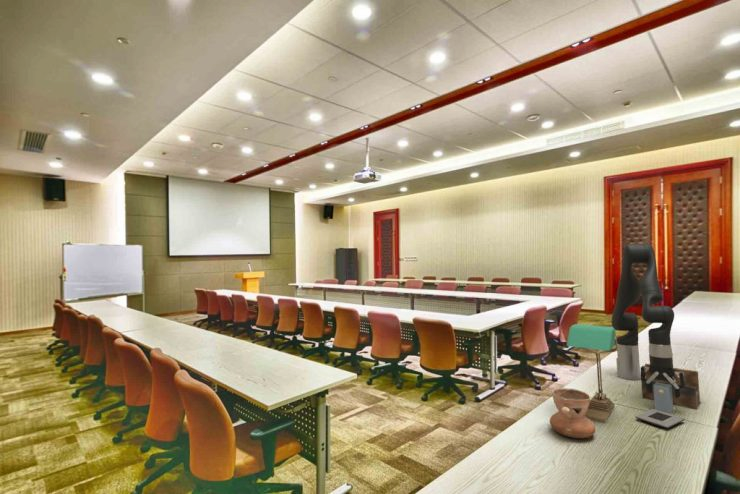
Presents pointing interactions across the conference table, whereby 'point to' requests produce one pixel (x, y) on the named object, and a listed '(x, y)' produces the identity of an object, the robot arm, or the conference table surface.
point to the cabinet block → (663, 397)
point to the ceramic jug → (571, 413)
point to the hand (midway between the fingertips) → (663, 394)
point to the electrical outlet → (659, 418)
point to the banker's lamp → (599, 340)
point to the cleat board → (687, 394)
